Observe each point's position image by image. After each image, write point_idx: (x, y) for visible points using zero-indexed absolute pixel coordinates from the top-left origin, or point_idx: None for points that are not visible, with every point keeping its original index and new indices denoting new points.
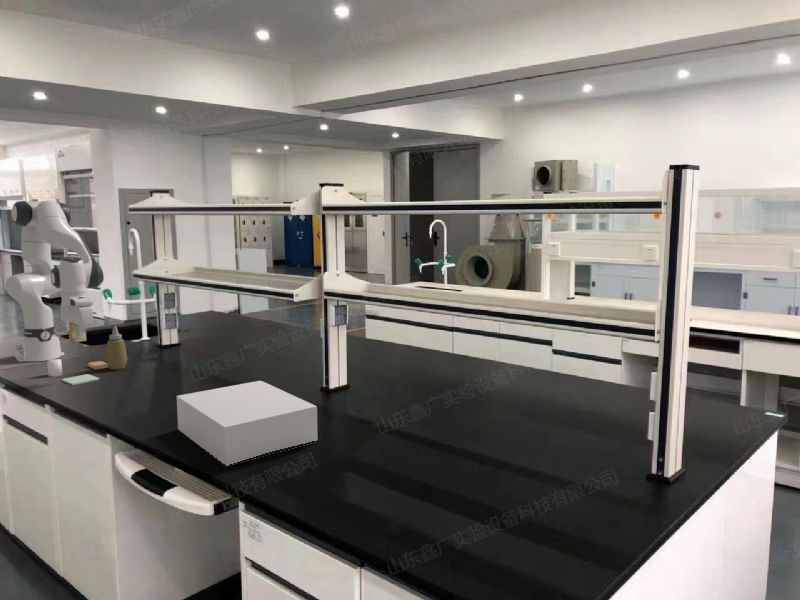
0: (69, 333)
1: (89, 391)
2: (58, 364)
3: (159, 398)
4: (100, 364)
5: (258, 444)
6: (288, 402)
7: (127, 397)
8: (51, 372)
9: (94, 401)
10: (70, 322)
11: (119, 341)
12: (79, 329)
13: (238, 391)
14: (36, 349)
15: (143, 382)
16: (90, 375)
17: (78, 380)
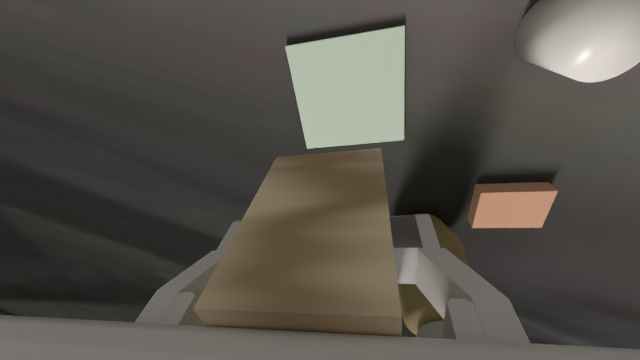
0: (364, 192)
1: (162, 71)
2: (548, 51)
3: (39, 185)
4: (482, 210)
5: None
6: None
7: (60, 136)
8: (549, 2)
9: (27, 46)
10: (345, 342)
11: (408, 324)
12: (184, 273)
13: None
14: None
15: (205, 214)
16: (372, 139)
17: (324, 81)
